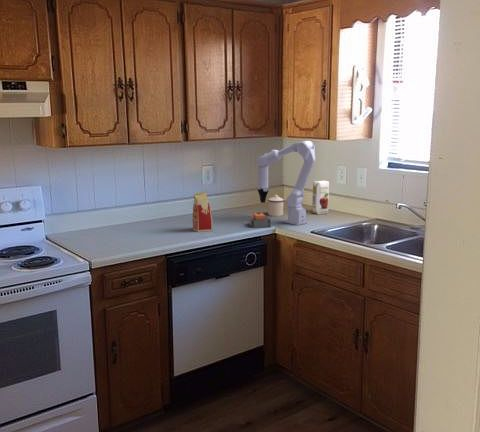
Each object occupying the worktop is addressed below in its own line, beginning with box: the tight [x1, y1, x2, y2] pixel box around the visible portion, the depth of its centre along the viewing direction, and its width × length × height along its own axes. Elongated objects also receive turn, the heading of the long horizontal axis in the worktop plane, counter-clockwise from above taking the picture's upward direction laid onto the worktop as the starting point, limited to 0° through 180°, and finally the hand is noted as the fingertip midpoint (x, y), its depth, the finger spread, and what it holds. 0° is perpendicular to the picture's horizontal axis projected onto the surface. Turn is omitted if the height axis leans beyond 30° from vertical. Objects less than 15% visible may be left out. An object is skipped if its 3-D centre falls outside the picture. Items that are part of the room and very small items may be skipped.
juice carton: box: [311, 179, 330, 216], centre depth 309 cm, size 8×9×19 cm
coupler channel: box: [247, 215, 271, 229], centre depth 277 cm, size 10×10×4 cm
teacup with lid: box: [267, 194, 285, 217], centre depth 306 cm, size 12×9×12 cm
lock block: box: [252, 212, 266, 220], centre depth 278 cm, size 8×5×6 cm, turn 8°
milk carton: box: [192, 189, 213, 233], centre depth 266 cm, size 9×9×20 cm
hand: (262, 202), depth 292 cm, fingers closed
